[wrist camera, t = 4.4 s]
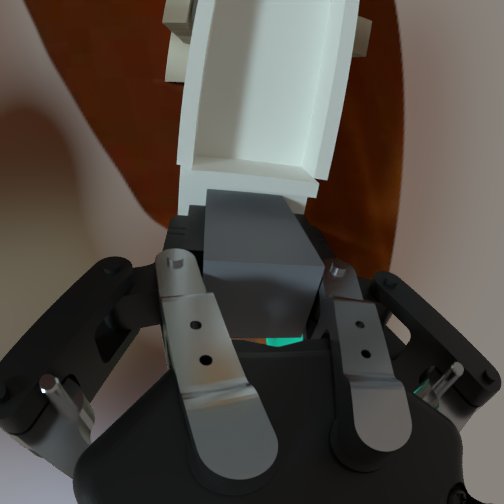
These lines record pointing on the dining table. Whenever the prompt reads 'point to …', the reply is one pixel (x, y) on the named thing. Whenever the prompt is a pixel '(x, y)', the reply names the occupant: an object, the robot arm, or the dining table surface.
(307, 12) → the board
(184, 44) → the lever stand
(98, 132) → the dining table surface
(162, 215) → the dining table surface
